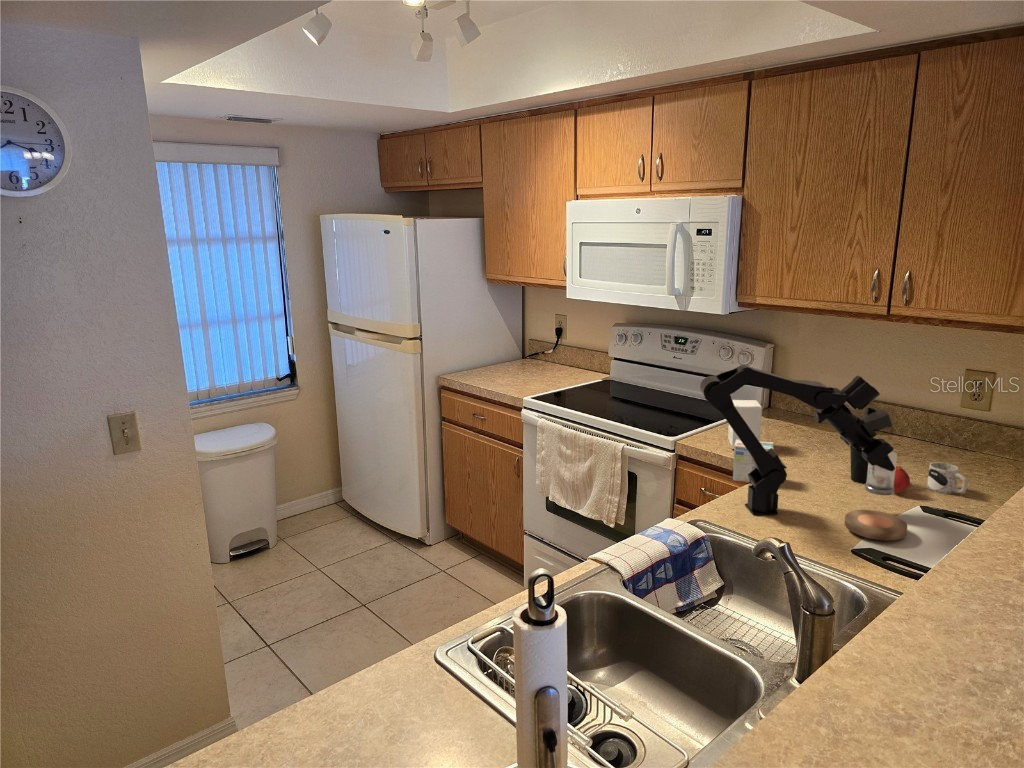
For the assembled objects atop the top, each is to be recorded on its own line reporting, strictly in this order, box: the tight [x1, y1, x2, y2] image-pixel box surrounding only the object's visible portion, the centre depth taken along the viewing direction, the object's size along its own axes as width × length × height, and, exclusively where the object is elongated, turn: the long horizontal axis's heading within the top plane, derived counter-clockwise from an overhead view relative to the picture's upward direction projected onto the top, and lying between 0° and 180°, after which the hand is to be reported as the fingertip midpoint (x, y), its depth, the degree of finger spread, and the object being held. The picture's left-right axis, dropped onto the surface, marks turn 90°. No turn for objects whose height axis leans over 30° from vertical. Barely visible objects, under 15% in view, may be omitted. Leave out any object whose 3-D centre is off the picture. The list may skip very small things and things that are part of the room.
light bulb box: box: [732, 439, 775, 483], centre depth 193 cm, size 11×7×11 cm, turn 68°
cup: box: [849, 437, 877, 485], centre depth 190 cm, size 8×8×12 cm
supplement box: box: [727, 399, 763, 446], centre depth 221 cm, size 9×9×15 cm
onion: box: [893, 464, 911, 494], centre depth 180 cm, size 6×6×8 cm
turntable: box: [844, 509, 908, 541], centre depth 159 cm, size 13×13×3 cm
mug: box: [926, 461, 968, 495], centre depth 181 cm, size 10×7×7 cm, turn 21°
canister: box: [864, 450, 898, 496], centre depth 167 cm, size 6×6×10 cm
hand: (887, 465), depth 166 cm, fingers closed on canister, 6 cm apart
